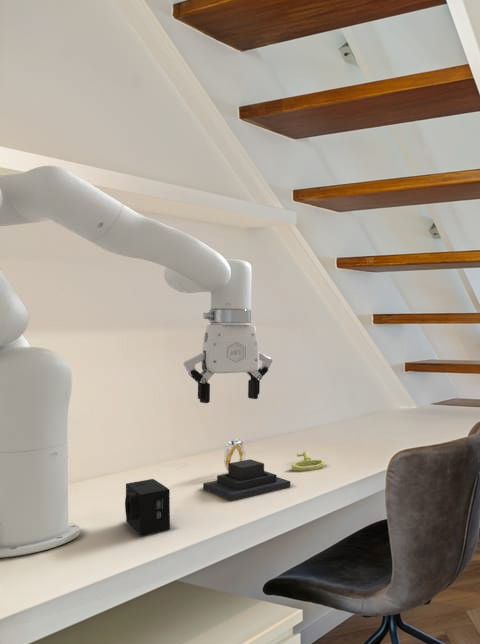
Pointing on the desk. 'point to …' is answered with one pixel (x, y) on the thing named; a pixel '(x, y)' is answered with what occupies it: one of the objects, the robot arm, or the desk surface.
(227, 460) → the ring
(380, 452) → the desk surface
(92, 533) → the desk surface
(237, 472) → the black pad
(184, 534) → the desk surface
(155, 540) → the desk surface
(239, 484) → the base pad
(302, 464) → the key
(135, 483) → the digital camera
